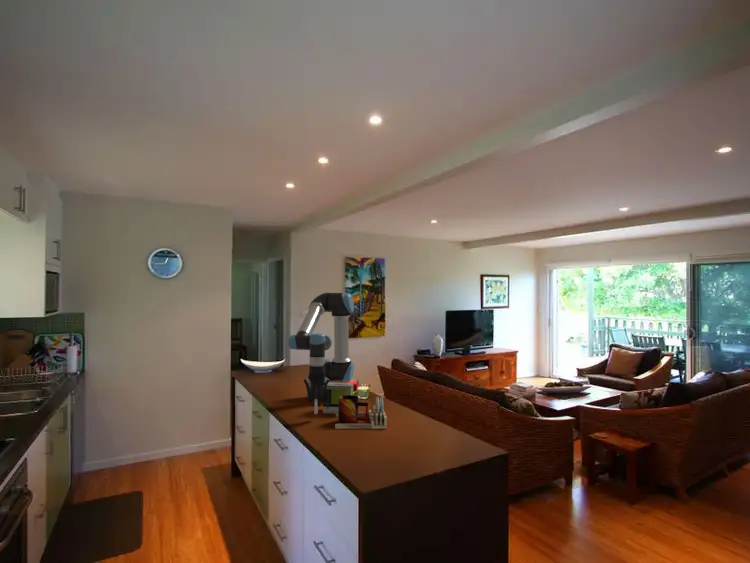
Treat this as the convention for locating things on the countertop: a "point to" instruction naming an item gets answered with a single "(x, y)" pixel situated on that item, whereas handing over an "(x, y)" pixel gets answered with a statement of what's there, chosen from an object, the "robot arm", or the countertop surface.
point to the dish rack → (376, 419)
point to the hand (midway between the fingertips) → (315, 413)
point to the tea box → (335, 396)
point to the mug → (350, 410)
